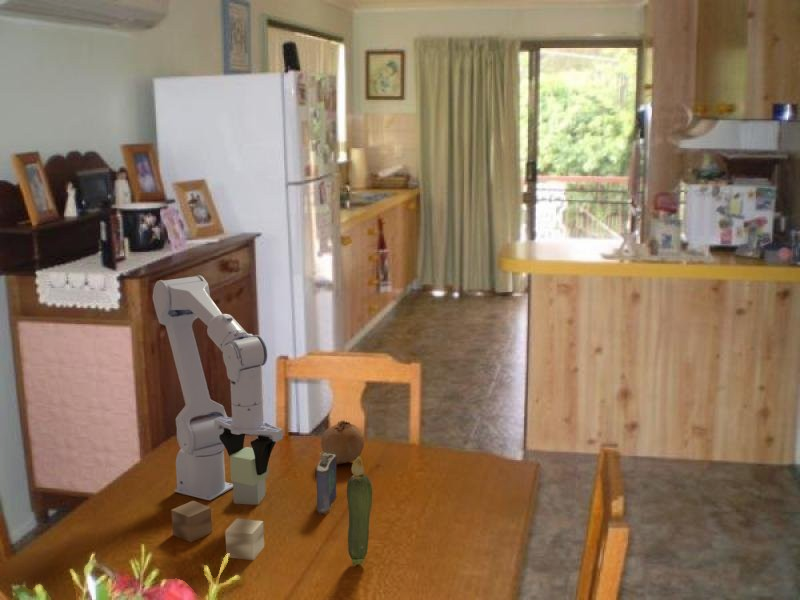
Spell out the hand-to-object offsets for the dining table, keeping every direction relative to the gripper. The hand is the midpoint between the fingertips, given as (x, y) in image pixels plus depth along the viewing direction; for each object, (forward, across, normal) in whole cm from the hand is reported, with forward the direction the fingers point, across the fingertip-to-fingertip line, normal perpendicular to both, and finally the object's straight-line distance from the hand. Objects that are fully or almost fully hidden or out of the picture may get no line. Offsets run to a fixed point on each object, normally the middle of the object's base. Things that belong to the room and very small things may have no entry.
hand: (249, 470), depth 167 cm
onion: (+10, +1, +31) cm, 33 cm away
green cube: (+2, 0, 0) cm, 2 cm away
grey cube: (+10, -6, +7) cm, 14 cm away
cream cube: (+10, +7, -11) cm, 16 cm away
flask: (+10, +9, +12) cm, 18 cm away
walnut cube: (+10, -6, -10) cm, 15 cm away
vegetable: (+10, +27, -5) cm, 29 cm away
